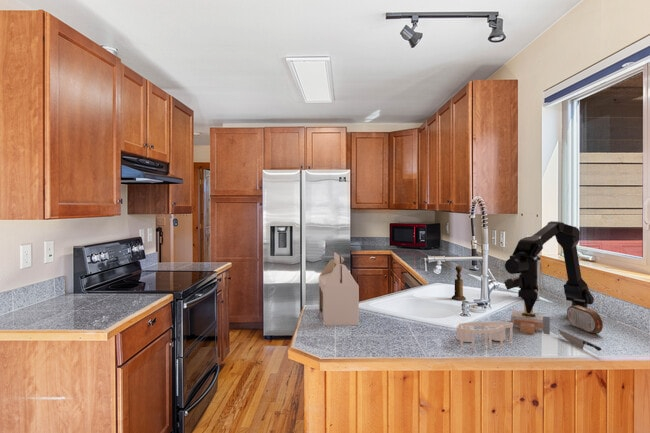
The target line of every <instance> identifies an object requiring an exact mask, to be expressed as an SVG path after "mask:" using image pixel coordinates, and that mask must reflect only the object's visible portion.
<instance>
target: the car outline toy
mask: <svg viewBox="0 0 650 433" xmlns="http://www.w3.org/2000/svg"><path fill="white" fill-rule="evenodd" d="M475 326H476V327H479V328H478V329H475ZM483 327H484V329H483ZM513 328H514V327H513V323H511V321H503V320H501V321H500V320H499V321H498V320H497V321H496V320H495V321H493V320H492V321H471V322H470V321H468V322H462V323H461V322H460V323H458V325H457V326H456V340H457V341H459V342H460V344H459V345H460V348H464V343H471V349H472V350H474V349H475V334H478V335H479V338H478V340H479V341H482V340H483V339H482V338H483V334H484V346H488V349H490V350H492V348H493V346H495V349H498V348H499V347H503V346H504V345H506V344H513V337H514V336H513V335H514V334H513ZM506 329H509V339H506ZM493 341H496V342H500V343H498V344H497V343H496V344H495V343H494V344H493V345H492V342H493ZM504 341H506V342H504Z"/></svg>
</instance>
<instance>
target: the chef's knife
mask: <svg viewBox="0 0 650 433" xmlns="http://www.w3.org/2000/svg"><path fill="white" fill-rule="evenodd" d="M557 331H558V332H559V334H560V335H561V336H562V337H563V338H564V339H565V340H566V341H567V342H569V343H570V342H571V343H570V344H572V343H573V345H575V346H576V347H579V348H580V349H584V347H585V345H586V346H588V347H590V348H591V347H592V348H594V349H595V350H596V351H598V352H599V351H602V348H601V347H600V346H598V345H596V344H594V343H591V342H589V341H587V340H584V339H583V338H580V337H578V336H575V335H573V334H571V333H568V332H566V331H564V330H561V329H558V328H557Z"/></svg>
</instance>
